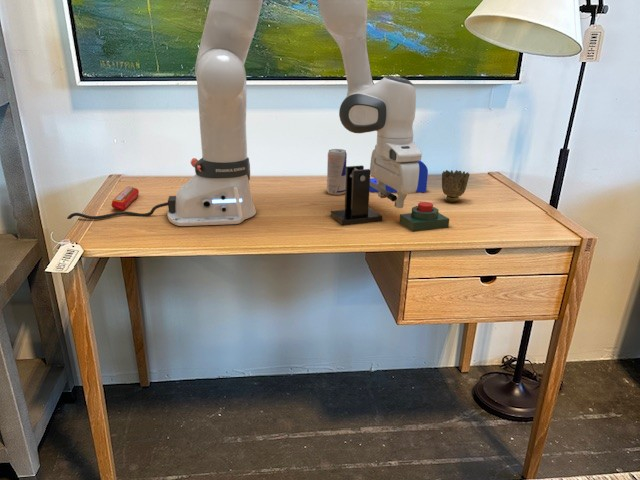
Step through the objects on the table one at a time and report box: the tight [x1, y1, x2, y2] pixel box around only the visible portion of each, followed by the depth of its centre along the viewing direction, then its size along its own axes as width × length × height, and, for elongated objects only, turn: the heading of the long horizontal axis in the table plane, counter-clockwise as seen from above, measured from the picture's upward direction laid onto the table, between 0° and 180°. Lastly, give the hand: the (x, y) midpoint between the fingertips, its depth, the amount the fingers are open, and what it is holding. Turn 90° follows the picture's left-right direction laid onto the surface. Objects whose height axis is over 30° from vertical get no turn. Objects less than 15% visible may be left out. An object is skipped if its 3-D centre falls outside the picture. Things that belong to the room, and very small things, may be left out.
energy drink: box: [326, 148, 348, 196], centre depth 168 cm, size 5×5×12 cm
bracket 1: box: [330, 164, 383, 226], centre depth 146 cm, size 11×8×13 cm
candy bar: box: [111, 186, 140, 211], centre depth 158 cm, size 16×4×3 cm, turn 0°
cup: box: [441, 169, 470, 203], centre depth 162 cm, size 8×7×8 cm
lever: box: [350, 168, 398, 202], centre depth 147 cm, size 13×5×2 cm
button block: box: [398, 205, 450, 232], centre depth 144 cm, size 10×7×4 cm
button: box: [417, 201, 434, 212], centre depth 143 cm, size 4×4×2 cm
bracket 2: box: [369, 160, 429, 193], centre depth 173 cm, size 18×8×9 cm, turn 94°
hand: (390, 202), depth 151 cm, fingers open, 8 cm apart
